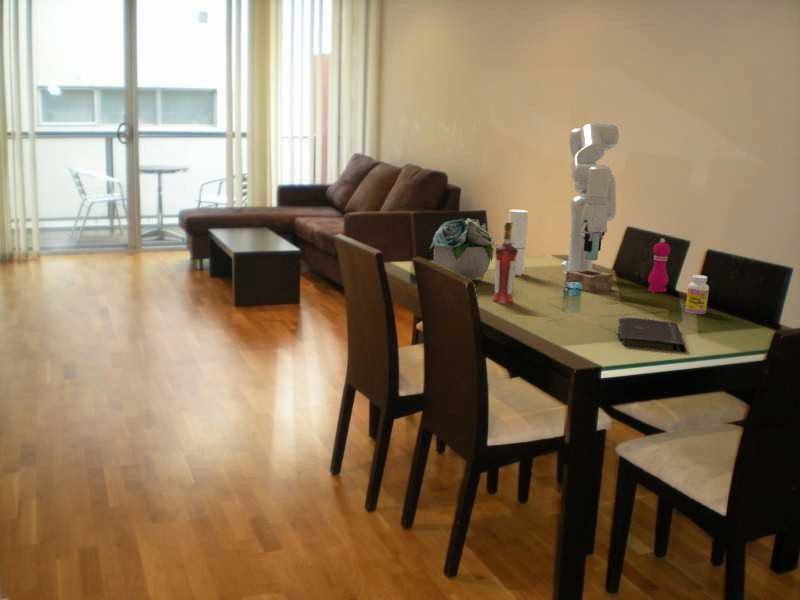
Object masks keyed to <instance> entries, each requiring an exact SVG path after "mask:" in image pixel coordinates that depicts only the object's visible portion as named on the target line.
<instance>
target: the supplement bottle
mask: <svg viewBox="0 0 800 600" xmlns="http://www.w3.org/2000/svg"><path fill="white" fill-rule="evenodd" d="M691 279H692V282H690V283H689V284H688V285H687V286H688V287H687V294H686V299H685V301H686V302H685V309H684V310H685V312H688V313H692V314H699V315H700V314H701V315H702V314H706V313H707V312H706V311H707V306H708V305H707V304H708V298H709V293H710V292H709V291H710V286H709V285H708V284H707V281H708V276H706V275H702V274H700V275H699V274H694V275H692V278H691Z"/></svg>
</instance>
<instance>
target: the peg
mask: <svg viewBox="0 0 800 600" xmlns="http://www.w3.org/2000/svg"><path fill="white" fill-rule="evenodd" d="M588 236H589V234H588ZM599 237H600V232H596V233H593V235H592V239H591V241H592V251H591V252H587V251H586V256H585V259H586V260H593V261H598V258H599V251H598V248H599Z"/></svg>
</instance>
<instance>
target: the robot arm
mask: <svg viewBox="0 0 800 600" xmlns="http://www.w3.org/2000/svg"><path fill="white" fill-rule="evenodd" d="M619 139H620V134H619V128H618V127H617V126H616V125H615V124H613V123H599V122H597V123H596V122H593V123H592V122H590V123H587V124H585V125H584V126H582V127H576V128H573V129H572V130H571V132H570V134H569V142H568V143H569V149H570V154H571V157H572V162H571V178H572V181H573V183H574V190H575V193H577V196H575V197H573V199H571V202H570V218H571V219H570V220H571V224H570V237H569V239H570V240H569V247H568V248H569V249H568V259H567V260H568V261H567V260H563V262H561V267H565V269H563V274H565V275H566V273H567V272H568V271H575V270H582V269H591V270H593V261H594V260H586V259H585V256H586V251H587V252H591V251H592V241H591V239H592V235H593V233H596V232H600V237H599V248H598V252H600V251H602V250H601V247H602V240H603V237H604V236H605V234H606V233H607V232H608V222H609V221H613V220H614V218H615V216H616V213H617V212H616V211H617V195H616V193H617V191H616V190H617V189H616V188H617V187H616V178H615V176H614V175H613V174H612V170H611V168H610V166H608V165H605V164H597V161H600V160H601V159H602V158H603V157H604V155H605V154H606V152H605V151H610V150H612V149H613V148H615V147H616V146H617V144H618V142H619ZM588 234H589V236H588Z"/></svg>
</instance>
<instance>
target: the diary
mask: <svg viewBox="0 0 800 600" xmlns="http://www.w3.org/2000/svg"><path fill="white" fill-rule="evenodd" d="M618 325H619V326H618V333H616V335H617V339H618V340H621V344H622V345H623V347H625V346H626V347H631V348H632V347H633V348H642V349H643V348H644V349H652V350H654V349H655V350H663V351H671V352H672V351H674V348H675V350H676V352H681V350H682V351H683V353H686V352H687V348H686V345H685V343H684V340H683V337H682V334H681V332H680V328H679V325H678V323H677V322H676V321H675V322H673V321H665V320H664V321H663V320H656V319H655V320H654V319H648V318H647V319H646V318H636V317H618Z"/></svg>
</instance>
